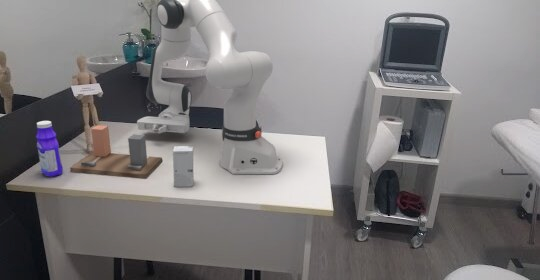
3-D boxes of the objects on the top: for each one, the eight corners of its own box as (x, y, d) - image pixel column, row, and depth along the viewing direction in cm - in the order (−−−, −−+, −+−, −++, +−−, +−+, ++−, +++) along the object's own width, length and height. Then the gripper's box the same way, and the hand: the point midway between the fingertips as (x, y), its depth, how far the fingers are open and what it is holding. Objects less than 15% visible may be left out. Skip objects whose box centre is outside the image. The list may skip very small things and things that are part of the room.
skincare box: (173, 187, 126) (171, 151, 122) (174, 180, 130) (173, 145, 126) (193, 186, 127) (192, 151, 123) (194, 180, 131) (193, 145, 127)
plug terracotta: (111, 152, 145) (108, 126, 142) (105, 156, 142) (102, 129, 138) (100, 151, 146) (97, 125, 142) (94, 155, 142) (91, 128, 138)
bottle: (39, 172, 133) (29, 121, 126) (57, 167, 137) (49, 117, 130) (47, 179, 128) (38, 127, 122) (66, 174, 132) (58, 123, 126)
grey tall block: (147, 162, 138) (145, 135, 135) (142, 167, 134) (139, 139, 131) (136, 161, 139) (133, 134, 135) (130, 166, 135) (128, 138, 131)
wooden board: (162, 161, 144) (162, 154, 143) (146, 178, 131) (145, 171, 130) (93, 155, 147) (92, 148, 146) (70, 171, 134) (69, 164, 133)
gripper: (144, 111, 168) (129, 121, 155) (192, 114, 166) (181, 125, 153) (145, 125, 170) (130, 136, 157) (192, 129, 168) (181, 141, 155)
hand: (156, 131), depth 155 cm, fingers closed
